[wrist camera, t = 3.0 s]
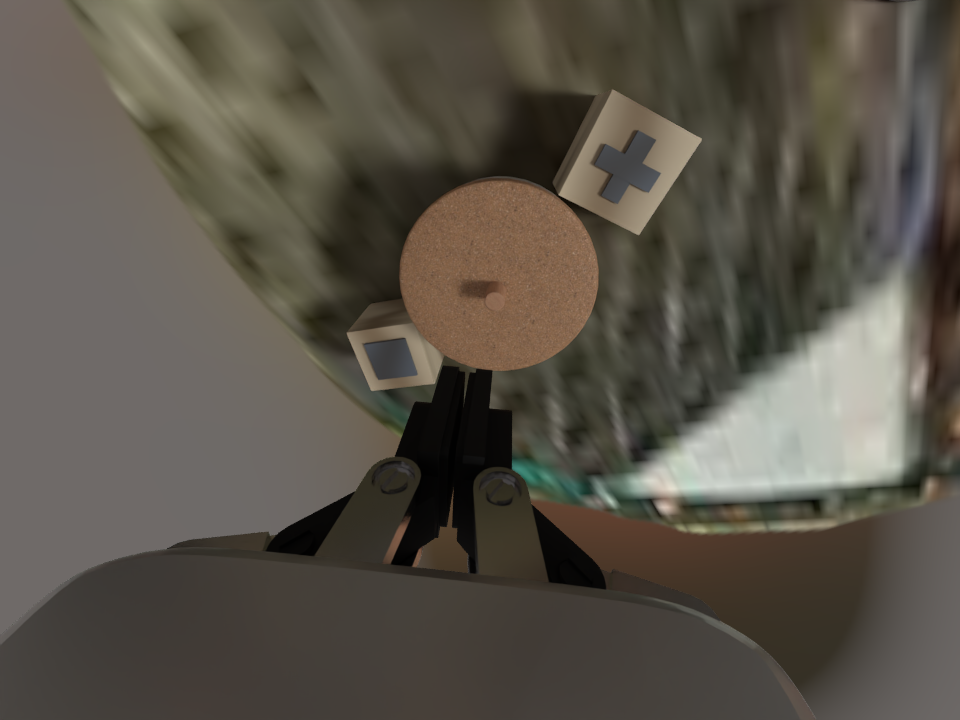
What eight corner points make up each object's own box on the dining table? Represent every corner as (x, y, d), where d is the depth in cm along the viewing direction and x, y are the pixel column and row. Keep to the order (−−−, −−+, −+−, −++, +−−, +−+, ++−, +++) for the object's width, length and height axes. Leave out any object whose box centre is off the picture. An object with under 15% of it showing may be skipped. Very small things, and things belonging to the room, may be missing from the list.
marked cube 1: (430, 293, 29) (414, 323, 25) (446, 348, 32) (434, 385, 28) (370, 303, 30) (345, 334, 26) (390, 356, 33) (370, 392, 28)
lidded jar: (491, 341, 31) (480, 416, 23) (397, 236, 27) (346, 283, 19) (609, 261, 27) (646, 320, 19) (518, 123, 23) (515, 124, 15)
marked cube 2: (668, 135, 23) (704, 139, 18) (619, 216, 25) (639, 236, 21) (595, 95, 22) (613, 89, 18) (552, 182, 24) (558, 195, 20)
